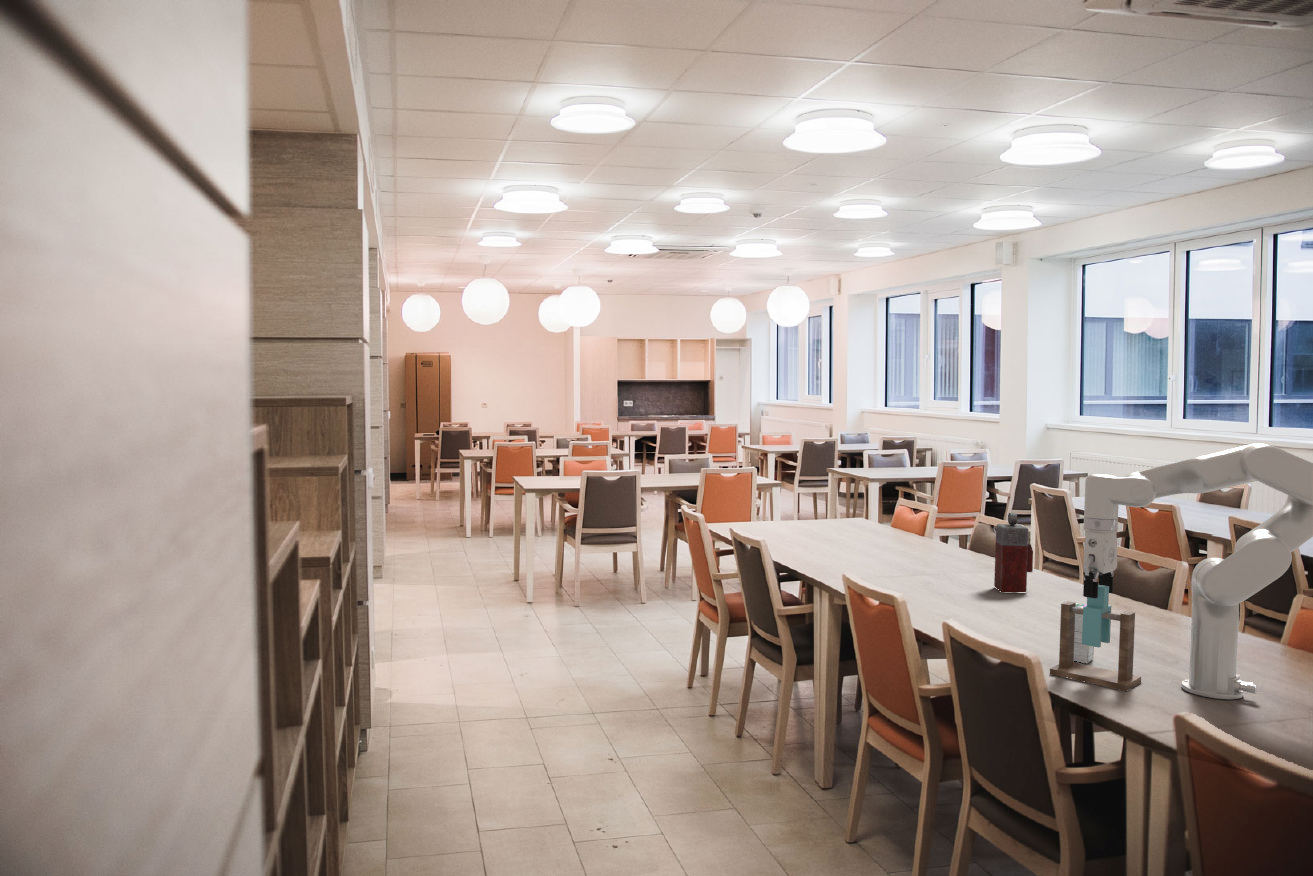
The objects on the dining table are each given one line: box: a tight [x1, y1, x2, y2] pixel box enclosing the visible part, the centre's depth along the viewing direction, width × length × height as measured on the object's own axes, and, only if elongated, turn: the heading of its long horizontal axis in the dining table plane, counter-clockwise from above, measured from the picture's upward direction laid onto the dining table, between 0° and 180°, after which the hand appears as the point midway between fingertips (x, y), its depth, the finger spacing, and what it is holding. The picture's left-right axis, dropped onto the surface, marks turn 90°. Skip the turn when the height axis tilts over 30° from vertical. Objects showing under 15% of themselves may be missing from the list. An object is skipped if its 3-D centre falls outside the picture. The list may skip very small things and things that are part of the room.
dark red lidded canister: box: [993, 512, 1034, 593], centre depth 335 cm, size 9×11×28 cm
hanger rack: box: [1049, 601, 1142, 692], centre depth 231 cm, size 18×10×18 cm, turn 45°
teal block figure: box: [1082, 584, 1112, 648], centre depth 230 cm, size 4×7×14 cm, turn 135°
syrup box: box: [1073, 602, 1095, 665], centre depth 247 cm, size 6×6×14 cm
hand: (1097, 594), depth 230 cm, fingers open, 9 cm apart
